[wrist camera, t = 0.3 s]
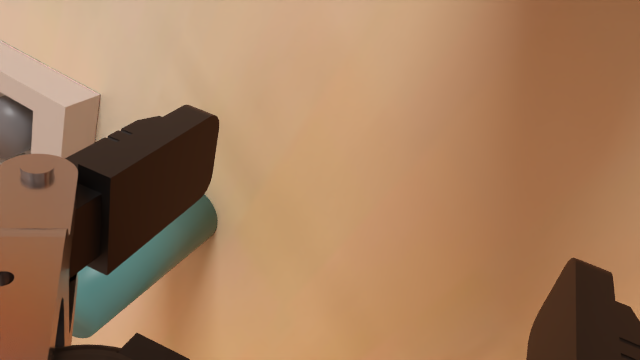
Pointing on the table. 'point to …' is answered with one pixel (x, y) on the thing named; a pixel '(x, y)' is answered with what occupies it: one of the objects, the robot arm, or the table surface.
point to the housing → (42, 109)
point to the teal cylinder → (140, 269)
